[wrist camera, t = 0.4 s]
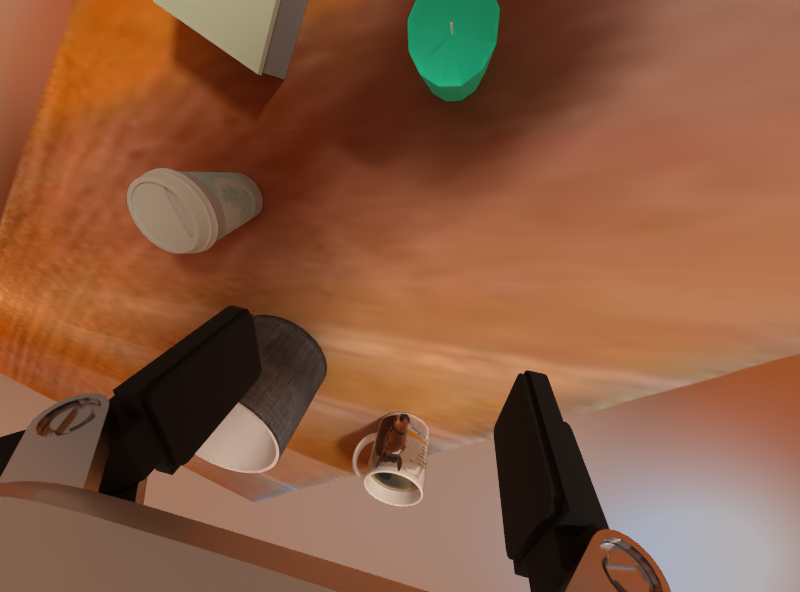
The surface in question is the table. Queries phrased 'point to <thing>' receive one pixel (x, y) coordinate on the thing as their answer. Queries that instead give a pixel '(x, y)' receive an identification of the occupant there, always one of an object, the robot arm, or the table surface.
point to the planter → (269, 400)
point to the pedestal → (246, 28)
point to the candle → (452, 43)
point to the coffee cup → (191, 207)
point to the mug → (396, 460)
